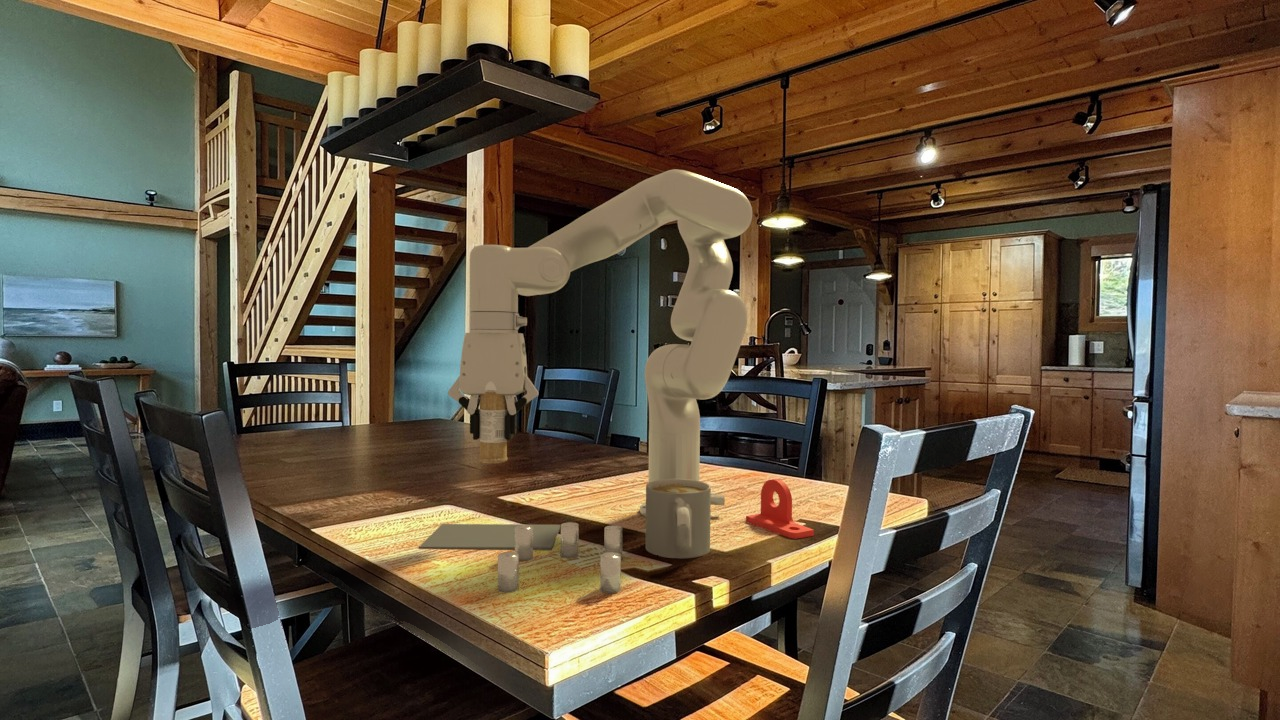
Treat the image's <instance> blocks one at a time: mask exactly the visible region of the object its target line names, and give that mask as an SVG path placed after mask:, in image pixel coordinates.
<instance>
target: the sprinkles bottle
mask: <svg viewBox="0 0 1280 720" xmlns="http://www.w3.org/2000/svg"><path fill="white" fill-rule="evenodd" d="M485 390H486V391H496V390H497V389H496V387H495V385H494V384H493V383H492V382H491V381H490V382H488V384H487V385H486V387H485ZM485 393H486V394H484V395H480V407H479V439H478V440H479V457H478V461H479V462H480V463H483V464H501V463H505V462H507V461H508V456H507V455H508V440H506V439H505V416H506V415H507V411H508V407H507V403H506V398H505V396H500V395H498V394H496V392H485Z"/></svg>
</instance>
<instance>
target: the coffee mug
mask: <svg viewBox="0 0 1280 720" xmlns="http://www.w3.org/2000/svg"><path fill="white" fill-rule="evenodd" d="M645 485H646V487H645V503H646V517H645V550H646V551H647V552H648V553H650V554H652V555H655V556H657V555H658V557H662V558H667V559H668V558H669V559H693V558H700V557H702V556H705V555H707V554H709V552H710V551H711V507H712V506H711V493H712V492H711V490H712V489H711V488H712V487H711V485H710V484H709V483H707V482H705V481H700V480H699V481H697V480H689V479H662V480H656V481H652V482H649V481H648V482H647V484H645Z"/></svg>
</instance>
